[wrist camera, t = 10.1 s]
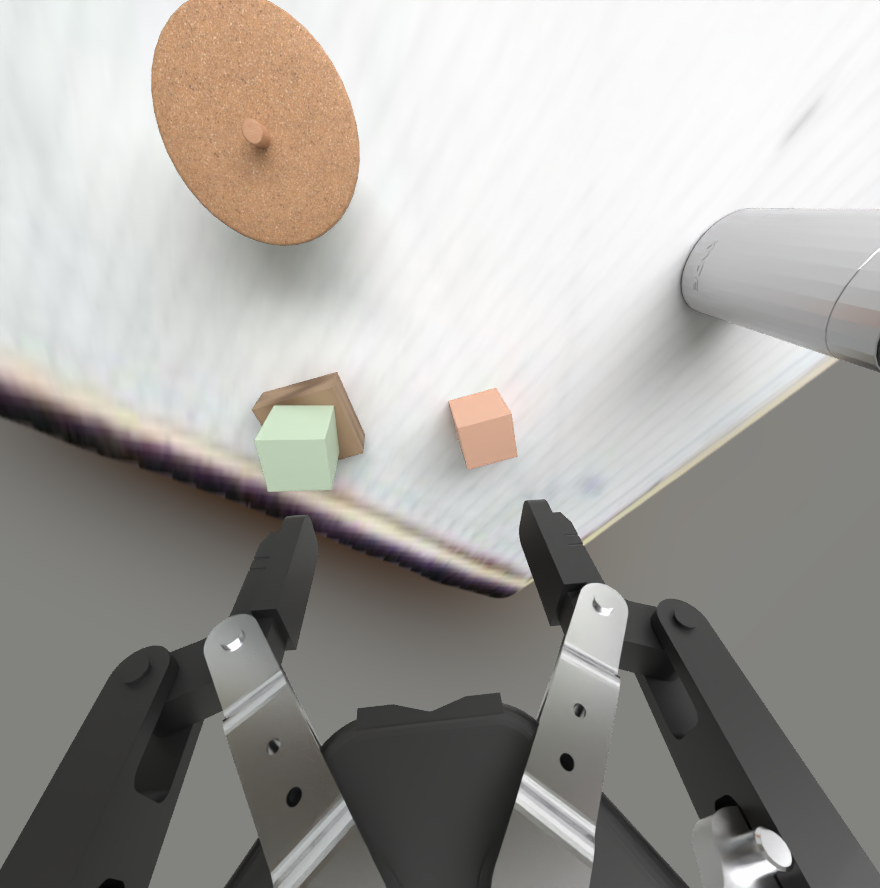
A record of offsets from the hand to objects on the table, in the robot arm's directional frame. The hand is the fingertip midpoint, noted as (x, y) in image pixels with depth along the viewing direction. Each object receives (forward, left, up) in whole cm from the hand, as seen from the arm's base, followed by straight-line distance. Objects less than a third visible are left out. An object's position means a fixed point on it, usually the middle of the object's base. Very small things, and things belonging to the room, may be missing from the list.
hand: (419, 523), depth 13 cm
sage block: (+9, +9, -22) cm, 25 cm away
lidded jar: (+7, -13, -26) cm, 30 cm away
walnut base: (+9, +9, -26) cm, 29 cm away
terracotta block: (-9, +10, -26) cm, 29 cm away
